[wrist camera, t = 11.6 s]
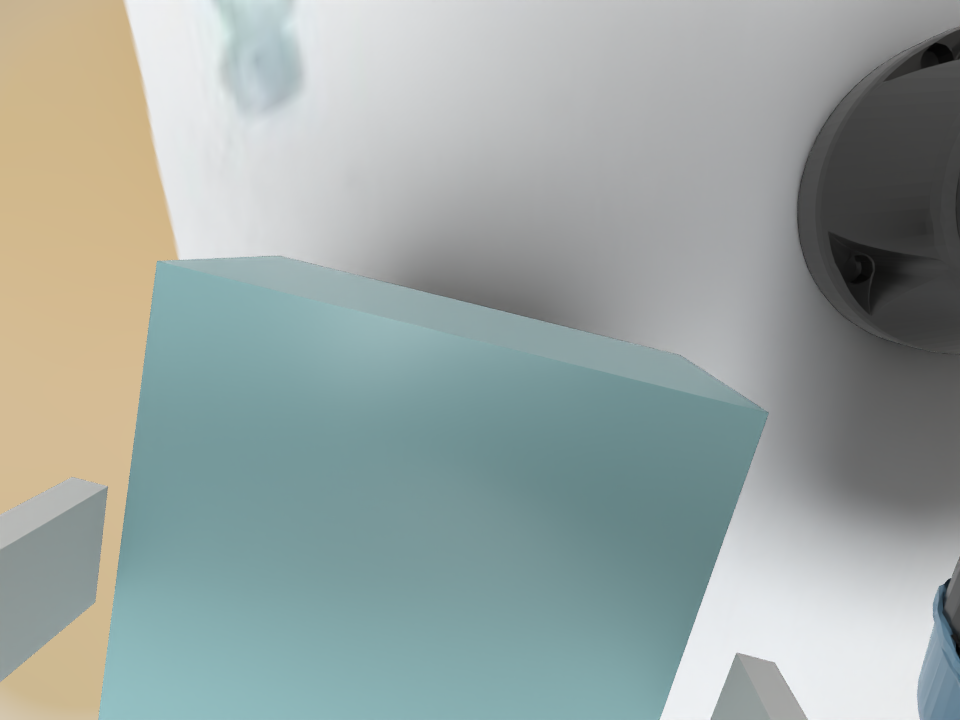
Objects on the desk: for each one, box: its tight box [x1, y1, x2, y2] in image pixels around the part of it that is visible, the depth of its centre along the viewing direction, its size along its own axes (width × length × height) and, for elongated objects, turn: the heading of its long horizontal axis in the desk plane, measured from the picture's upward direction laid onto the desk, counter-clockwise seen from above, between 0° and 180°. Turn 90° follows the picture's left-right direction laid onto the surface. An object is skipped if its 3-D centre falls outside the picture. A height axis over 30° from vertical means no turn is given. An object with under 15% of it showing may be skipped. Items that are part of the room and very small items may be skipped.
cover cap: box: [98, 256, 769, 720], centre depth 15 cm, size 12×12×6 cm
